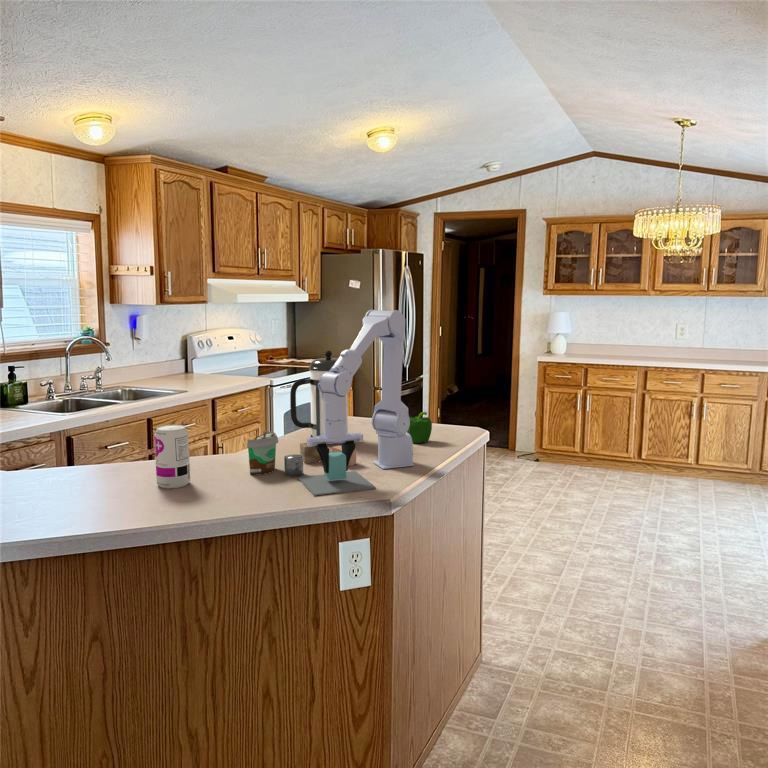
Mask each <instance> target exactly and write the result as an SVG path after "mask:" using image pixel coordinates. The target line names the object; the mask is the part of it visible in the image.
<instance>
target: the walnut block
mask: <svg viewBox="0 0 768 768" xmlns="http://www.w3.org/2000/svg"><path fill="white" fill-rule="evenodd" d="M299 453H300V454H299V455H302V456H303V462H304V463H308V462H318V463H320V462H319V461H321V458H320V455H319V453H318V451H317V449H316V447H315V446H312V447H309V446H308V445H307V442H300V444H299ZM321 462H322V461H321ZM304 463H303V464H304ZM308 464H309V463H308Z"/></svg>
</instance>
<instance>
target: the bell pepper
mask: <svg viewBox="0 0 768 768" xmlns="http://www.w3.org/2000/svg"><path fill="white" fill-rule="evenodd" d="M427 414H428V412H427V411H422V412H420V413H419V414H418V416H414V417H412V416H411V417H409V419H410V426H409V429H408V431H407V432H406V433H409V434H410V435H411V438H412V443H413V444H422V443H423V444H424V443H428V442H429V440H430V437H431V435H432V429H433V422H432V420H431V418H430V417H427ZM423 415H425V416H426V417H425V416H424V417H422V416H423Z"/></svg>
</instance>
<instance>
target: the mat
mask: <svg viewBox="0 0 768 768" xmlns="http://www.w3.org/2000/svg"><path fill="white" fill-rule="evenodd" d="M297 479H298V480H299V482H300V481H301V482H302V483H303V484H304V485H305V486H306V487H305V486H304V485H303V484H302V483H301V482H300V483H301V484H302V485H303V486H304V487H305V488H306V489H307V490H308V492H309V493H310V492H311V493H312V494H313V495H314V496H313V495H312V494H311V495H312V496H313V497H318V496H317V495H322V496H326V495H325V494H330V495H333V494H332V493H338V494H343V493H342V492H347V493H353V492H352V491H355V492H360V491H359V490H364V491H369V490H368V489H372V490H376V489H377V487H376V486H375V485H374V484H372V483H371V482H370V481H368V480H367V478H365V477H364V476H362V474H360V473H358V472H357V471H356V470H353V471H346V478H345V479H337V480H329V479H327V478H326V477H325V476H324V474H315V475H305V476H304V475H303V476H299V477H297Z"/></svg>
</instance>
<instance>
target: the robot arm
mask: <svg viewBox="0 0 768 768" xmlns="http://www.w3.org/2000/svg"><path fill="white" fill-rule="evenodd" d="M405 331H406V318H405V316H404V315H403V313H402V312H401V311H400V310H398V309H395V310H377V309H376V310H375V309H369V310H367V312H366V313H365V316H364V317H363V318H362V327H361V330H360V331H359V332H358V335H357V337H356V338H355V340H354V341H353V343H352V345H351V346H350V348H349V349H344V350H342V351H341V353H340V354H339V356H338V357H337V358H338V360H337V361H336V362H335V364H334V365H333V367H332V368H331V370H330V371H329V372H327V373H324V374H323V375H322V376H321V378H320V380H319V383H318V388H319V391H320V392H321V396H322V400H323V403H324V435H321V436H316V437H311V436H310V437H307V438H306V443H307V445H308V446H309V447H312V446H315V447H316V449H317V451H318V453H319V455H320V458H321V464H322V468H323V471H324V472H325V473H329V453H330V448H329V447H328V445H333V444H334V445H335V444H336V445H337V444H341V447H342V453H343V454H345V455H346V472H348V470H349V466H348V465H349V461H350V458H351V456H352V453H353V451H354V450H355V448H356V449H357V447H356V445H357V444H356V443H355V442H359V443H362V442H363V443H364V434H363V433H361V432H353V433H346V394H347V395H348V393H349V392H350V391H351V389H352V382H353V380H354V379H353V378H354V375H355V374H356V373H357V371H358V370H359V368H360V367H361V365H362V363H363V359H362V356H363V355H364V353H365V352H366V350H368V349H369V347H370V346H371V345H372V344H373V342H374V341H375V339H376V338H378V339H379V341H381V342H382V344H383V345H384V346H383V365H382V382H381V383H382V387H381V399H380V401H378V402H377V403H376V404H375V405H374V410H373V414H372V417H371V427H372V428H373V429H374V430H375V434H376V435H377V444H378V445H377V455H378V456H377V458H378V459H377V460H373V462H372V463H374V464H375V465H376V466H378V467H380V468H381V469H382V470H386V469H387V470H389V469H395V468H406V467H413V466H415V465H414V462H413V460H414V458H413V455H414V454H413V453H414V451H413V450H414V449H413V448H414V447H413V446H414V443H413V442H412V438H411V435H410V434H409V433H407V431H408V429H409V426H410V419H409V418H410V415H409V407H408V406H407V405H406V404H405V403H404V402H403V401H402V399H401V397H402V379H403V375H402V374H403V361H404V359H403V357H404V341H405V337H406V336H405V335H406V334H405Z"/></svg>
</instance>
